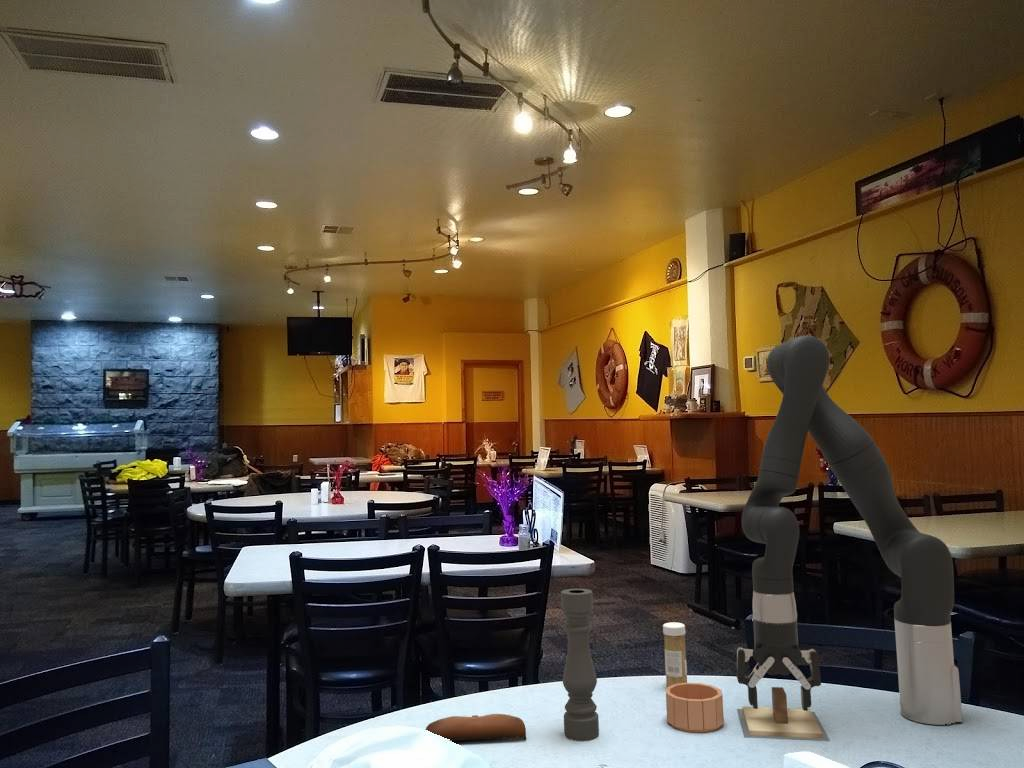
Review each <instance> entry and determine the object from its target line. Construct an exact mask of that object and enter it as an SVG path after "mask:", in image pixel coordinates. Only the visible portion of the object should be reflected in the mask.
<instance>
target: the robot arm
mask: <svg viewBox="0 0 1024 768" xmlns="http://www.w3.org/2000/svg"><path fill="white" fill-rule="evenodd" d="M829 352H830V351H829V349H828V347H827V346H826V344H825V343H824V342H823V341H822V340H821V339H819V338H818V337H816V336H813V335H810V334H809V335H806V334H805V335H799V336H796V337H794V338H792V339H789V340H786V341H785V342H782V343H780V344H778V345H776V346H775V347H774V348H773V349H772V350H770V352H769V354H768V355H767V359H766V367H767V372H768V374H769V377H770V378H771V380H772V382H773V383H774V384H775V386H776V387H777V388H778V390H779V391H780V392H781V394H782V399H781V402H780V406H779V409H778V411H777V414H776V416H775V419H774V421H773V424H772V425H771V428H770V430H769V432H768V434H767V437H766V440H765V442H764V446H763V450H762V453H761V458H760V465H759V471H758V475H757V480H756V481H755V484H754V486H753V487H752V490H751V492H750V494H749V496H748V498H747V500H746V503H745V505H744V508H743V512H742V515H741V527H742V531H743V534H744V535H745V537H746V538H747V539H748V540H749V541H752V542H754V543H758V544H762V545H763V544H765V552H764V556H763V557H762V556H761V557H758V558H756V559H754V560H753V562H752V569H751V575H752V620H753V621H752V622H753V639H754V640H753V641H754V645H753V648H751V649H750V648H743V646H738V647H737V648H736V679H737V682H738V683H739V684H740V685H745V686H746V687H747V695H748V696H747V697H748V699H747V700H748V702H749V705H750V706H752V707H753V708H754V709H758V707H759V705H758V690H757V689H758V688H757V684H758V683H759V681H760V680H761V679H763V678H764V676H765V674H768V675H769V676H776V675H781V676H788V675H790V674H792V675H793V676H794V677H795V679H796V680H797V681H798V682H799V683H800V698H801V699H800V701H801V702H800V703H801V709H803V710H804V711H808V709H809V708H811V707H812V692H811V691H812V688H815V687H820V686H821V685H822V678H821V669H820V663H819V662H820V660H819V654H818V652H817V651H816V650H815V648H809V649H808V650H806V649H805V650H801V649H800V647H799V637H798V636H799V635H798V633H799V632H798V612H797V604H796V603H797V602H796V597H795V592H794V591H795V589H794V575H793V567H794V565H795V564H794V563H795V558H796V555H797V549H798V544H799V541H800V540H799V539H800V526H799V522H798V519H797V517H796V515H795V514H794V512H793V511H791V510H790V509H789V508H787V507H783V506H779V505H780V503H781V502H782V499H783V498H785V497H788V496H790V495H794V493H795V492H796V490H797V488H798V484H799V483H798V482H799V477H800V473H801V467H802V460H803V455H804V450H805V444H806V440H807V436H808V432H809V434H810V436H811V438H812V440H813V441H814V443H815V444H816V446H817V447H818V449H819V451H820V453H821V454H822V455H823V457H824V459H825V461H826V463H827V464H828V466H829V468H830V469H831V471H832V473H833V475H834V476H835V477H836V479H837V481H838V482H839V483H840V485H841V486H842V488H843V490H844V491H845V493H846V495H847V496H848V498H849V500H850V501H851V502H852V504H853V505H854V507H855V508H856V510H857V511H858V513H859V514H860V515H861V517H862V519H863V520H864V522H865V524H866V526H867V528H868V529H869V531H870V534H871V536H872V538H873V540H874V542H875V545H876V546H877V548H878V551H879V552H880V555H881V557H882V559H883V561H884V563H885V564H886V566H887V568H888V569H889V570H890V571H891V572H892V573H893V574H895V575H896V576H898V578H900V579H901V585H900V586H901V595H900V599H899V600H898V601H895V602H894V604H893V618H894V631H895V633H894V634H895V646H896V661H897V663H896V664H897V674H898V675H897V676H898V679H897V680H898V690H899V691H898V693H899V706H900V714H901V715H902V716H903V717H904V718H906V719H909V720H911V721H914V722H917V723H921V724H925V725H926V724H927V725H935V726H936V725H937V726H944V725H945V724H947V725H952V724H951V723H953V724H956V723H955V722H962V723H963V713H962V701H961V700H962V697H961V684H960V672H959V668H958V667H957V666H956V664H955V662H954V661H955V659H954V658H955V657H954V646H953V635H952V621H951V619H952V616H951V615H952V611H953V608H954V606H955V582H954V581H955V577H954V573H955V572H954V563H953V557H952V554H951V551H950V549H949V547H948V546H947V545H946V543H945V542H944V541H943V540H942V539H940V538H938V537H936V536H933V535H931V534H927V533H923V532H920V531H919V530H918V529H917V527H915V525H914V524H913V523H912V521H911V520H910V518H909V517H908V515H907V514H906V513H905V511H904V510H903V507H901V504H900V501H899V500H898V497H897V495H896V491H895V487H894V483H893V478H892V474H891V471H890V467H889V465H888V463H887V461H886V458H885V457H884V455H883V454H882V452H881V450H880V449H879V447H878V446H877V444H876V442H875V440H874V439H873V437H872V436H871V435H870V433H869V432H868V431H867V430H866V429H865V428H864V427H863V426H862V425H861V424H860V423H859V422H858V421H857V420H856V419H855V418H853V417H852V416H851V415H850V414H848V413H847V412H846V411H844V410H843V409H842V408H841V407H840V406H839V405H837V403H835V401H834V400H833V399H832V398H831V397H830V395H829V394H828V392H827V391H826V389H825V388H824V385H823V384H824V382H825V381H826V380H825V379H826V376H827V373H828V370H829V366H830V361H831V360H830V358H831V357H830V353H829ZM751 657H753V659H754V660H755V662H756V665H755V666H754V668H753V669H752V671H751V673H750V674H749V676H747V675H745V674H746V669H745V668H746V663H747V662H748V661H749V660H750V658H751ZM802 658H804V660H805V662H806V663H807V664H809V668H810V677H808V678H806V676H805V675H804V673H802V671H801V670H800V669H799V668H798V666H797V665H798V664H799V663H800V661H801V660H802ZM945 726H946V725H945Z"/></svg>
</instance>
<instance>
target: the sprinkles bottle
mask: <svg viewBox="0 0 1024 768" xmlns="http://www.w3.org/2000/svg"><path fill="white" fill-rule="evenodd" d="M662 633H663V640H664V643H663V644H664V665H665V667H664V668H665V681H666V682H665V683H666V687H665V689H666V688H667V687H669V686H671V685H673V684H680V683H688V668H687V666H688V665H687V654H686V653H687V652H686V638H685V637H686V625H685V624H684V623H683V622H682V623H681V622H676V621H675V622H674V621H673V622H666V623H663V625H662Z"/></svg>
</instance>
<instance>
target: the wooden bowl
mask: <svg viewBox="0 0 1024 768" xmlns="http://www.w3.org/2000/svg"><path fill="white" fill-rule="evenodd" d="M723 698H724V697H723V691H722V689H720V688H718V687H717V686H715V685H712V684H711V685H710V684H706V683H702V682H687V683H680V684H673V685H671V686H669V687H667V688H666V687H665V702H666V704H665V705H666V708H665V709H666V721H667V722H668V723H669V725H670V726H672V727H673V728H675V729H678V730H681V731H683V732H688V733H689V732H690V733H710V732H713V731H716V730H718V729H720V728H721V726H723V725H725V722H724V721H725V719H724V716H725V715H724V702H723V701H724V700H723Z"/></svg>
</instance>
